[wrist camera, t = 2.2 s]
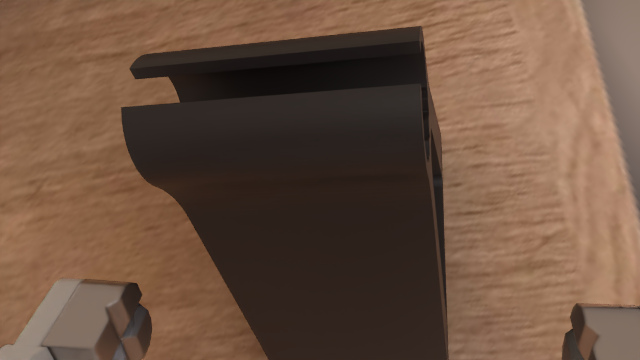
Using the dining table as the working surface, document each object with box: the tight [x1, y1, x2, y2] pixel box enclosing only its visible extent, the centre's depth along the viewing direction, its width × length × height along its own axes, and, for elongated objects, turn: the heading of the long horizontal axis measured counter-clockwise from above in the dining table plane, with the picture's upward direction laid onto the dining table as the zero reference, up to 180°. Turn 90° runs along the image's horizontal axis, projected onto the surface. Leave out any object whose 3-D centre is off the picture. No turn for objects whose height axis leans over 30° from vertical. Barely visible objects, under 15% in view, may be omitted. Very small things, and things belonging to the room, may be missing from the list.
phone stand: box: [121, 26, 448, 360], centre depth 17 cm, size 9×6×12 cm, turn 177°
